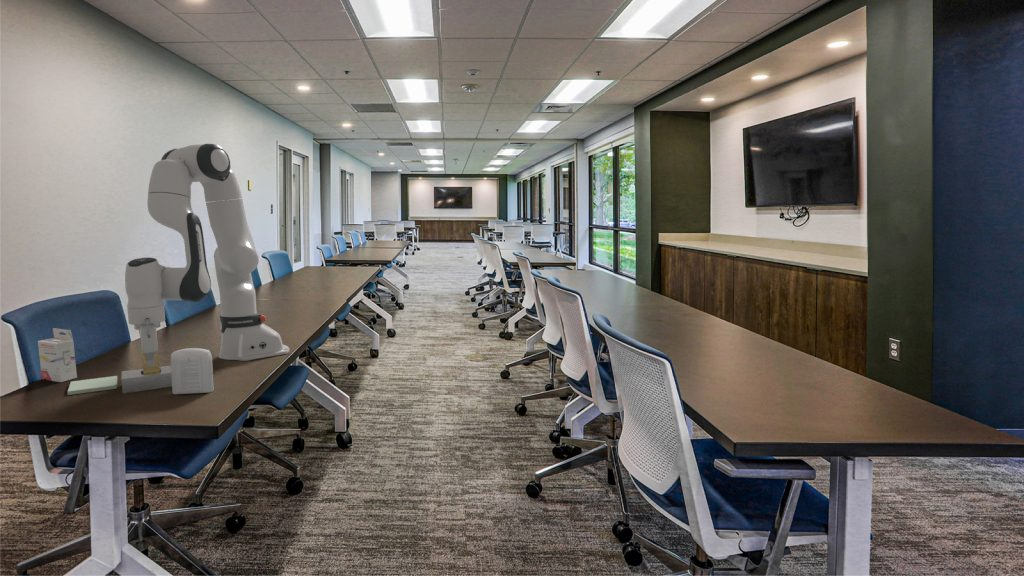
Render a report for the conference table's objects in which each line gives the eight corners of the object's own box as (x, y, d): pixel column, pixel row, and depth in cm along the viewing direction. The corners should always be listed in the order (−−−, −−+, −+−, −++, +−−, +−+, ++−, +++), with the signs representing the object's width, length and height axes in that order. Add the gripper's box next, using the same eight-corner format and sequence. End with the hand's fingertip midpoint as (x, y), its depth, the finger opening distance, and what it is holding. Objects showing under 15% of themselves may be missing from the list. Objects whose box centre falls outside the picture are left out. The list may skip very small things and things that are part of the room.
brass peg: (160, 381, 171) (157, 348, 170) (161, 385, 168) (158, 351, 167) (144, 384, 169) (141, 350, 168) (144, 387, 166) (141, 352, 165)
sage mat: (117, 379, 175) (117, 375, 174) (116, 388, 165) (116, 385, 165) (71, 384, 169) (70, 381, 169) (67, 395, 160) (67, 391, 159)
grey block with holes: (194, 375, 178) (193, 362, 178) (196, 382, 171) (195, 369, 170) (123, 385, 169) (121, 371, 168) (122, 393, 161) (121, 378, 161)
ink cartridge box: (40, 379, 174) (35, 330, 172) (58, 375, 178) (53, 327, 177) (60, 382, 171) (55, 332, 169) (78, 378, 176) (73, 329, 174)
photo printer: (215, 388, 165) (213, 345, 164) (211, 393, 161) (208, 349, 160) (175, 391, 163) (172, 347, 161) (170, 396, 159) (166, 351, 157)
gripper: (161, 320, 159) (165, 370, 161) (158, 309, 176) (162, 354, 178) (133, 323, 156) (138, 374, 158) (133, 311, 173) (137, 357, 175)
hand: (150, 363), depth 168 cm, fingers closed on brass peg, 4 cm apart
